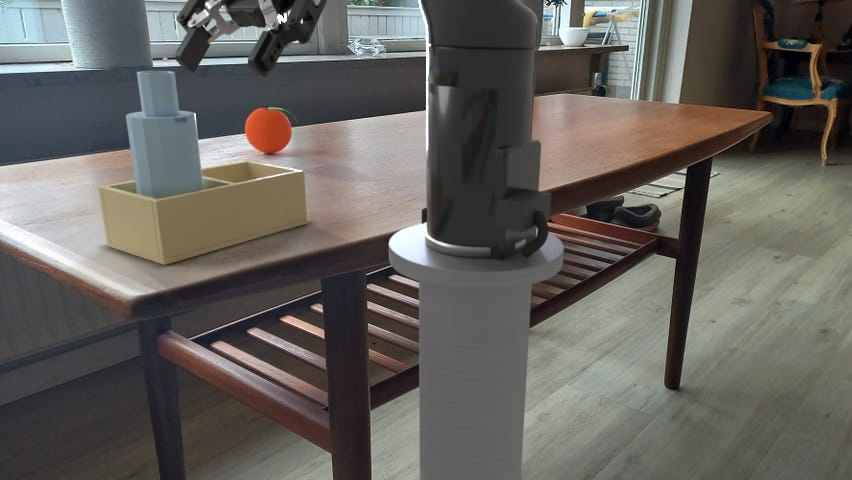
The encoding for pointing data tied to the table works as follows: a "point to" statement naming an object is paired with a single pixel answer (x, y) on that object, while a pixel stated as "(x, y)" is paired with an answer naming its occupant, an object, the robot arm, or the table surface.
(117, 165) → the table surface
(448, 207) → the robot arm
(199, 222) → the holder
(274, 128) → the clementine
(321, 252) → the table surface
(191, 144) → the bottle
